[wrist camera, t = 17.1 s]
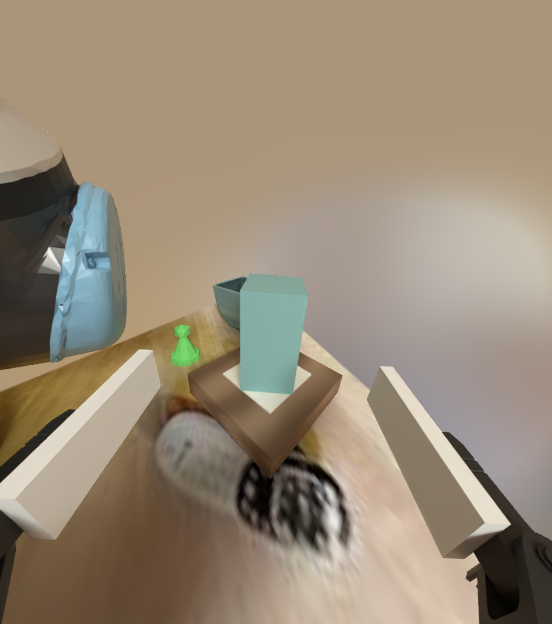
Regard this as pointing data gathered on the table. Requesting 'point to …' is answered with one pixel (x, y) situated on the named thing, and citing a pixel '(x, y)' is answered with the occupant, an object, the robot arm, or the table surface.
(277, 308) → the teal pillar block
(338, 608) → the table surface
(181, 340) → the game piece
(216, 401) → the walnut base
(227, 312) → the flower pot
